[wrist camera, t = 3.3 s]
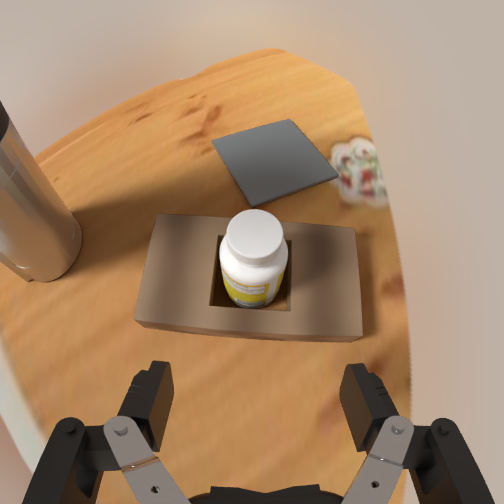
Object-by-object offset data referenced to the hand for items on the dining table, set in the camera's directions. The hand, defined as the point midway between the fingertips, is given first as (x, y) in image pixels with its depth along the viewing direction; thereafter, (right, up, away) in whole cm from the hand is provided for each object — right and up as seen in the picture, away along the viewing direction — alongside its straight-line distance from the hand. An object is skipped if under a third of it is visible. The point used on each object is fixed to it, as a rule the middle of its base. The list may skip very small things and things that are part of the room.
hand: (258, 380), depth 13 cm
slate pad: (+2, +18, +25) cm, 31 cm away
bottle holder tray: (0, +3, +17) cm, 17 cm away
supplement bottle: (0, +3, +17) cm, 17 cm away
